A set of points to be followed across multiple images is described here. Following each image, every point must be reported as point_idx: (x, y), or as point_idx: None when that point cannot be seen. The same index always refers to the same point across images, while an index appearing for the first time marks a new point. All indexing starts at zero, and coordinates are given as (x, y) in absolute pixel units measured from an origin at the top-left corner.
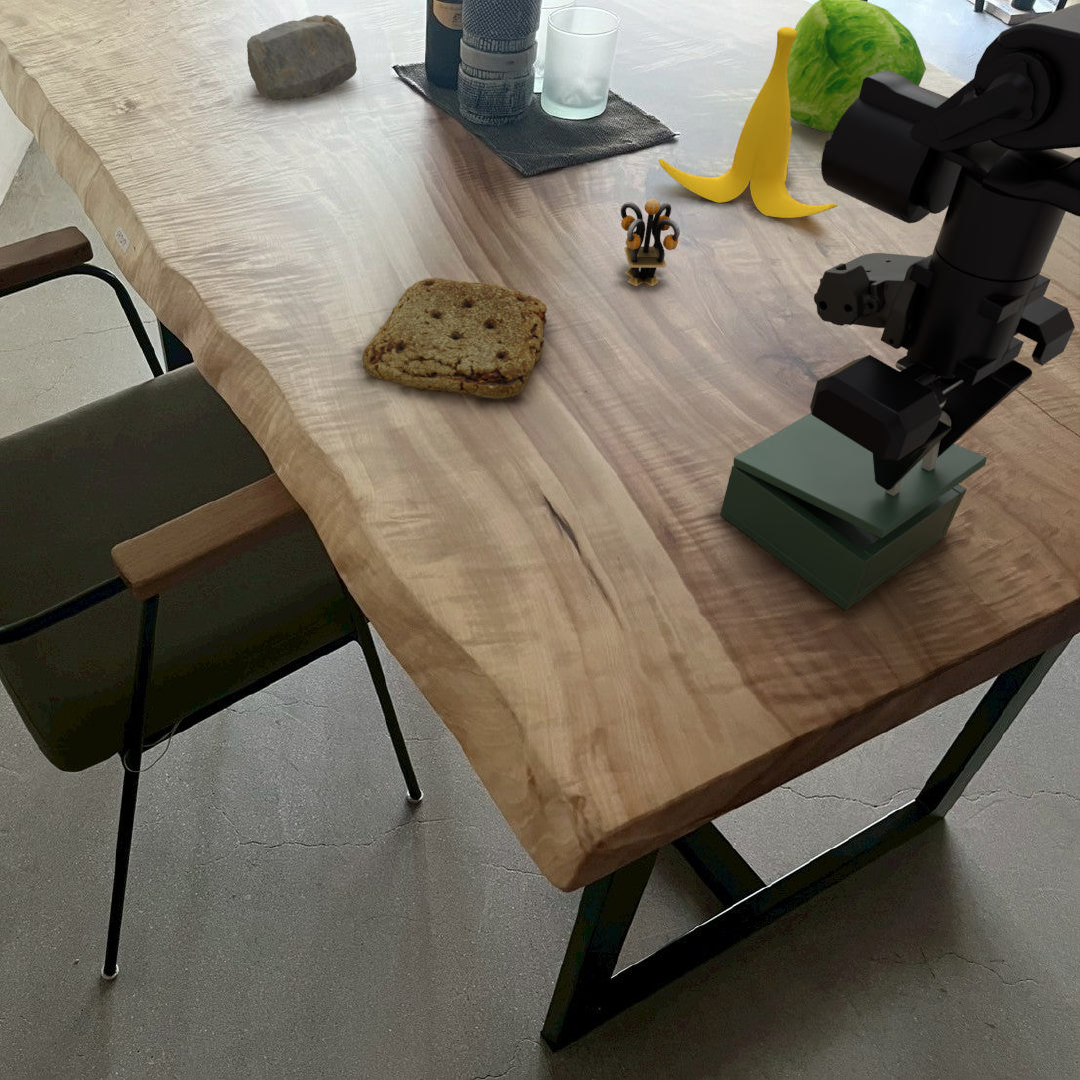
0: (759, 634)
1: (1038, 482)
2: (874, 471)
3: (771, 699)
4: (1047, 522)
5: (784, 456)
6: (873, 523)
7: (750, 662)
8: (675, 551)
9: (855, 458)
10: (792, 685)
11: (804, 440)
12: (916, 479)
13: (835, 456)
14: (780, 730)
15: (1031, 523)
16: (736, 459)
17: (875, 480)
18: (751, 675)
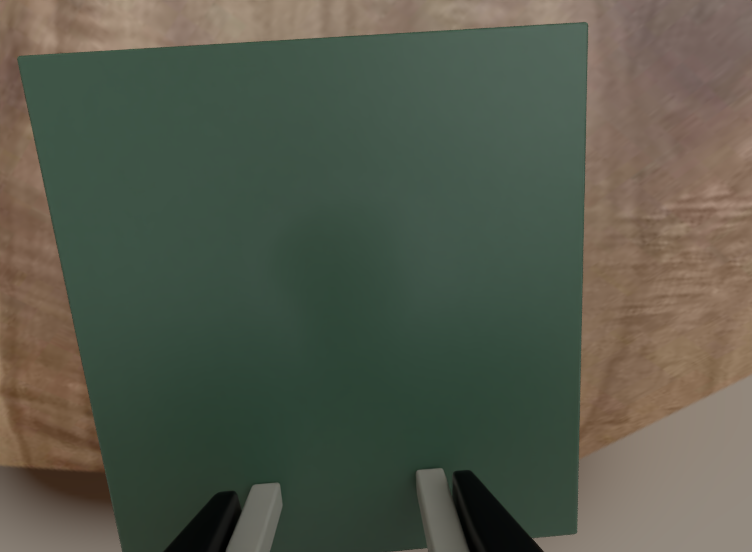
0: (71, 343)
1: (713, 352)
2: (181, 532)
3: (28, 423)
4: (630, 407)
5: (160, 174)
6: (127, 549)
7: (29, 371)
8: (9, 121)
9: (323, 326)
10: (70, 422)
11: (282, 148)
12: (364, 492)
13: (284, 282)
14: (16, 456)
15: (611, 397)
16: (22, 70)
17: (211, 499)
18: (19, 386)
